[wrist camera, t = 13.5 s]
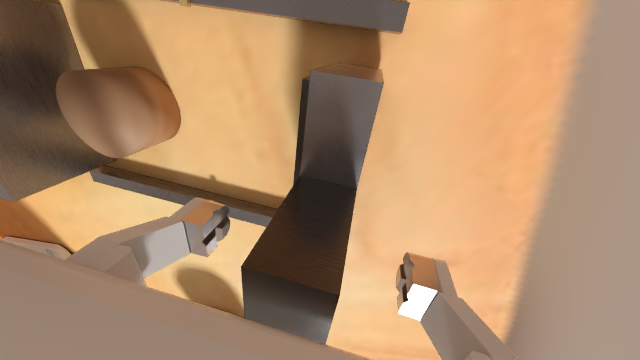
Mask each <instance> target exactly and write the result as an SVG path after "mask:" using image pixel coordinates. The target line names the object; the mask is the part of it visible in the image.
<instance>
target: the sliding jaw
mask: <svg viewBox="0 0 640 360" xmlns="http://www.w3.org/2000/svg"><path fill="white" fill-rule="evenodd" d="M383 84H384V81H383V75H382V70H381V69H375V68H369V67H362V66H356V65H350V64H344V63H338V64H334V65H330V66H326V67H322V68H318V69H314V70H311V73H310V76H309V77H306V78H303V80H302V91H301V103H300V114H299V126H298V137H297V149H296V161H295V172H294V184H293V187H292V189H291V190H290V192H289V193H288V195H287V196H286V198H285V199H284V201H283V203H282V204H281V206H280V207H279V209H278V210H277V212H276V213H275V215H274V217H273V218H272V220H271V221H270V223H269V224H268V226H267V227H266V229H265V230H264V232H263V234H262V235H261V237H260V238H259V240H258V241H257V243H256V244H255V246H254V248H253V249H252V251H251V252H250V254H249V255H248V257H247V258H246V260H245V261H244V263H243V265H242V266H241V272H242V288H243V303H244V318H245V319H249V320H252V321H255V322H258V323H261V324H264V325H267V326H270V327H273V328H276V329H279V330H282V331H286V332H289V333H292V334H295V335H298V336H301V337H304V338H307V339H310V340H313V341H316V342H319V343H323V344H326V340H327V337H328V333H329V330H330V327H331V323H332V320H333V316H334V313H335V309H336V306H337V303H338V299H339V296H340V290H341V283H342V277H343V271H344V265H345V259H346V253H347V246H348V240H349V234H350V228H351V222H352V215H353V209H354V203H355V197H356V191H357V186H358V182H359V178H360V174H361V170H362V166H363V162H364V158H365V154H366V151H367V147H368V143H369V139H370V135H371V131H372V127H373V123H374V119H375V115H376V111H377V107H378V103H379V100H380V96H381V92H382V88H383Z"/></svg>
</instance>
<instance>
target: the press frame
mask: <svg viewBox="0 0 640 360" xmlns="http://www.w3.org/2000/svg"><path fill="white" fill-rule="evenodd" d="M162 1H169V2H176V3H180V5H181V6H186V7H191V6H190V5H197V6H204V7H211V8H218V9H225V10H232V11H239V12H246V13H253V14H260V15H267V16H274V17H282V18H289V19H296V20H303V21H310V22H317V23H324V24H331V25H338V26H345V27H352V28H359V29H366V30H373V31H380V32H387V33H394V34H401V33H402V31H403V27H404V23H405V20H406V16H407V12H408V8H409V4H410V3H409V2H401V1H393V0H162ZM70 70H84V68H83V65H82V62H81V59H80V57H79V54H78V51H77V48H76V45H75V42H74V40H73V37H72V34H71V31H70V28H69V26H68V23H67V20H66V17H65V14H64V11H63V9H62V6H61V4H59V3H52V2H46V1H39V0H0V198H1V199H4V200H8V201H11V202H15V201H17V200H20V199H22V198H25V197H27V196H30V195H32V194H34V193H37V192H39V191H42V190H44V189H47V188H49V187H52V186H54V185H57V184H59V183H62V182H64V181H66V180H69V179H71V178H74V177H76V176H79V175H81V174H84V173H86V172H89V171H90V174H91V176H92V178H93V181H95V182H99V183H103V184H106V185H110V186H114V187H118V188H122V189H125V190H129V191H133V192H137V193H140V194H144V195H148V196H152V197H155V198H159V199H163V200H167V201H171V202H174V203H178V204H182V205H186V204H187V203H188V202H190V201H191V200H192V199H194V198H197V197H199V198H202V199H205V200H210V201H213V202H217V203H220V204H224V205H227V206H228V208H229V213H228V214H227V217H231V218H235V219H239V220H242V221H246V222H250V223H254V224H257V225H261V226H265V227H267V226H268V224H269V223H270V221H271V220H272V218H273V217H274V215H275V213H276V212H277V210H278V209H274V208H270V207H266V206H262V205H258V204H254V203H250V202H246V201H243V200H239V199H235V198H231V197H227V196H223V195H219V194H215V193H211V192H207V191H203V190H199V189H195V188H191V187H187V186H183V185H179V184H175V183H171V182H167V181H163V180H160V179H156V178H152V177H148V176H144V175H140V174H136V173H132V172H128V171H124V170H120V169H116V168H112V167H108V166H104V165H106V164H108V163H111V162H113V161H116V158H112V157H108V156H105V155H103V154H101V153H99V152H97V151H96V150H94V149H93V148H91V147H90V146H88V145H87V144H86V143H85V142H84V141H83V140H82V139H81V138H80V137H79V136H78V135H77V134H76V133H75V132H74V131H73V129H72V128H71V127H70V125H69V124H68V122H67V121H66V119H65V118H64V116H63V114H62V112H61V110H60V107H59V104H58V101H57V96H56V84H57V80H58V78H59V77H60V76H61V75H62V74H63V73H64V72H66V71H70Z"/></svg>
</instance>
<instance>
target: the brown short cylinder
mask: <svg viewBox="0 0 640 360" xmlns="http://www.w3.org/2000/svg"><path fill="white" fill-rule="evenodd" d="M56 96H57V101H58V104H59V107H60V110H61V112H62V114H63V116H64V118H65V119H66V121H67V122H68V124H69V125H70V127H71V128H72V129H73V131H74V132H75V133H76V134H77V135H78V136H79V137H80V138H81V139H82V140H83V141H84V142H85V143H86V144H87V145H88V146H90V147H91V148H93V149H94V150H96V151H97V152H99V153H101V154H103V155H105V156H108V157H112V158H124V157H127V156H129V155H131V154H134V153H136V152H139V151H141V150H144V149H146V148H149V147H151V146H153V145H156V144H158V143H161V142H163V141H166V140H168V139H171V138H172V137H174V136H175V135H176V134H177V132H178V130H179V128H180V124H181V115H180V109H179V106H178V103H177V101H176V99H175V97H174V95H173V93H172V92H171V90H170V89H169V87H168V86H167V85H166V84H165V83H164V82H163V81H162V80H161V79H160V78H159V77H158V76H157V75H155V74H154V73H152V72H151V71H149V70H146V69H144V68H140V67H123V68H105V69H87V70H70V71H66V72H64V73H63V74H62V75H61V76H60V77H59V78H58V80H57V84H56Z"/></svg>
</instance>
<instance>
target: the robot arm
mask: <svg viewBox="0 0 640 360" xmlns="http://www.w3.org/2000/svg"><path fill="white" fill-rule="evenodd" d="M228 213H229V208H228V206H227V205H224V204H220V203H217V202H213V201H210V200H205V199H202V198H199V197H197V198H194V199H192V200H191V201H190V202H188V203H187V204H186V205H184V206H183V207H182V208H181V209H179V210H178V211H177V212H175V213H174V214H173V215H172V216H170V217H163V218H160V219H157V220H153V221H150V222H147V223H143V224H140V225H137V226H134V227H130V228H127V229H124V230H120V231H117V232H114V233H110V234H107V235H104V236H101V237H98V238H97V239H95V240H94V241H92V242H91V243H89V244H88V245H86V246H85V247H83V248H82V249H80V250H79V251H77V252H76V253H74V254H73V255H71V254H70V253H69V252H68V251H67V250H66V249H65V248H63V247H62V246H60V245H58V244H52V243H46V242H40V241H33V240H27V239H21V238H15V237H8V236H6V237H4V238H3V239H0V360H372V359H369V358H366V357H363V356H360V355H357V354H354V353H350V352H347V351H344V350H341V349H338V348H335V347H332V346H329V345H326V344H323V343H319V342H316V341H313V340H310V339H307V338H304V337H301V336H298V335H295V334H292V333H289V332H286V331H282V330H279V329H276V328H273V327H270V326H267V325H264V324H261V323H258V322H255V321H252V320H249V319H245V318H242V317H239V316H236V315H233V314H230V313H227V312H224V311H221V310H218V309H214V308H211V307H208V306H205V305H202V304H199V303H196V302H193V301H190V300H187V299H183V298H180V297H177V296H174V295H171V294H168V293H165V292H162V291H159V290H156V289H153V288H149V287H147V285H146V283H145V280H144V278H146V277H147V276H149V275H151V274H153V273H155V272H157V271H159V270H161V269H162V268H164V267H166V266H168V265H170V264H172V263H174V262H175V261H177V260H179V259H181V258H183V257H185V256H187V255H188V254H190V253H194V254H197V255H201V256H205V257H208V256H209V255H210V254H211V253H212V252H213V251H214V249H215V248H216V247H217V242H218V241H220V240H222V239H224V237H225V236H226V235H227V233H228V231H229V228H230V219H229V218H228V217H227V214H228ZM403 262H404V264H402V265H400V266H399V269H398V271H397V276H396V288H397V290H398V291H399V292H400V293H399V295H398V297H397V304H398V313H399V314H402V315H406V316H409V317H412V318H415V319H418V320H420V322H421V324H422V326H423V328H424V329H425V331H426V333H427V334H428V336H429V338H430V340H431V341H432V343H433V345H434V346H435V348H436V350H437V352H438V353H439V355H440V357H441V358H442V360H518V359H517V358H516V357H515V355H514V354H513V353H512V352H511V351H510V350H509V349H508V348H507V347H506V346H505V345H504V343H503V342H502V341H501V340H500V339H499V338H498V337H497V336H496V335H495V334H494V333H493V332H492V330H491V329H490V328H489V327H488V326H487V325H486V324H485V323H484V322H483V321H482V320H481V319H480V318H479V316H478V315H477V314H476V313H475V312H474V311H473V310H472V309H471V308H470V307H469V306H468V305H467V303H466V302H465V301H464V300H463V299H462V298H458V296H457V293H456V290H455V287H454V284H453V281H452V278H451V275H450V272H449V269H448V266H447V263H446V262H445V261H441V260H437V259H433V258H428V257H424V256H420V255H416V254H412V253H409V252H407V253H406V254H405V255H404V258H403Z"/></svg>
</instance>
